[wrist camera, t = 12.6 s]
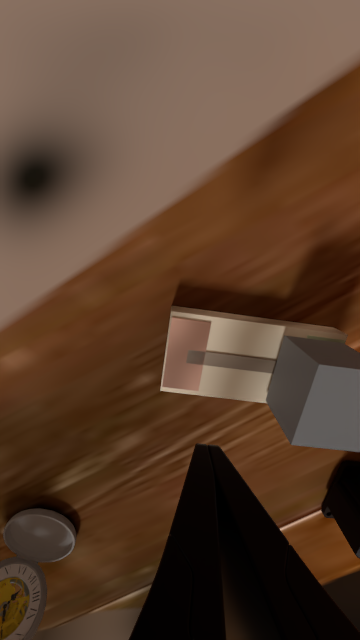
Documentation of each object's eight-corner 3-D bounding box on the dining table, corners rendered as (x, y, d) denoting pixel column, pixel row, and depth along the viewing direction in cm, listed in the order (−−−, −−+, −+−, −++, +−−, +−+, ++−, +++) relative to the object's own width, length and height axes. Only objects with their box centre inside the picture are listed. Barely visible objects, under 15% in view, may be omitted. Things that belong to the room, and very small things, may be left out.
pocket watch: (71, 501, 22) (-7, 691, 13) (87, 559, 25) (31, 755, 15) (-15, 505, 23) (-157, 698, 13) (9, 563, 25) (-95, 760, 15)
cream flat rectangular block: (333, 327, 18) (349, 335, 16) (309, 397, 19) (320, 410, 18) (171, 305, 17) (171, 311, 15) (161, 379, 19) (160, 391, 17)
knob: (342, 343, 16) (395, 374, 12) (319, 406, 17) (359, 452, 13) (284, 335, 16) (319, 364, 12) (265, 400, 17) (290, 444, 13)
